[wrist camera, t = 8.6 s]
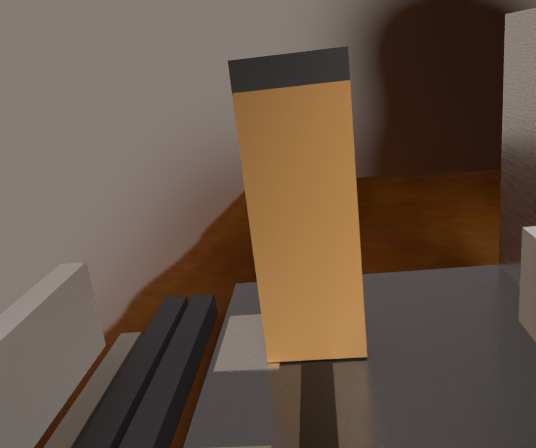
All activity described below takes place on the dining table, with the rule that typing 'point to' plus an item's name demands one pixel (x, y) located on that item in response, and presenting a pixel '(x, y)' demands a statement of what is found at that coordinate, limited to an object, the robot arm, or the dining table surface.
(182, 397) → the long grooved rail
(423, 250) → the dining table surface
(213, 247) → the dining table surface
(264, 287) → the lever
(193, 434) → the l-shaped metal bracket
